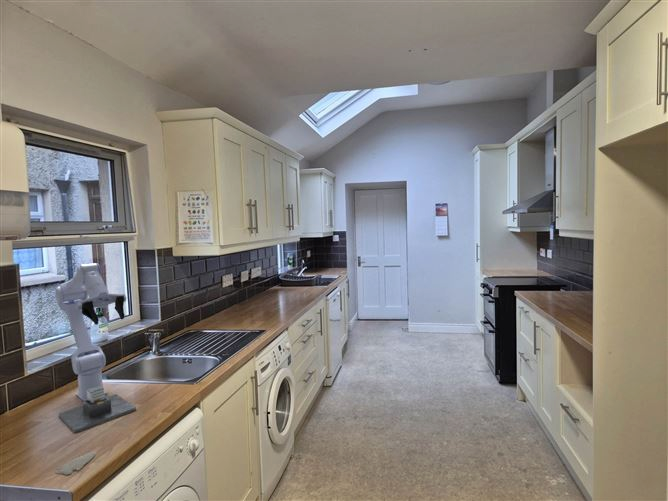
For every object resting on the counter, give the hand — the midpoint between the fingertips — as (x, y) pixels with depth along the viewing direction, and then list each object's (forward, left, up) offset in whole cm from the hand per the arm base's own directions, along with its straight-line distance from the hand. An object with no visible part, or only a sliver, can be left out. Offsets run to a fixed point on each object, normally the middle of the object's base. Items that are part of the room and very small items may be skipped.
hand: (110, 319), depth 128 cm
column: (-9, -4, -31) cm, 32 cm away
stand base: (-9, -4, -32) cm, 34 cm away
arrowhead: (+19, -17, -33) cm, 42 cm away
